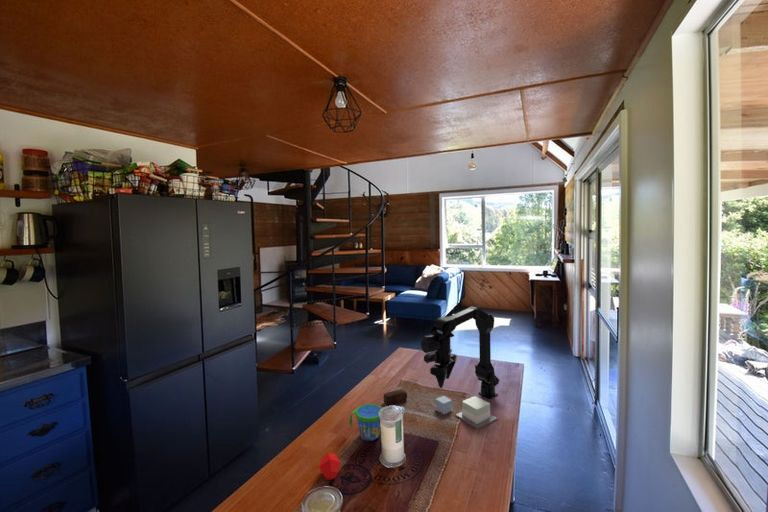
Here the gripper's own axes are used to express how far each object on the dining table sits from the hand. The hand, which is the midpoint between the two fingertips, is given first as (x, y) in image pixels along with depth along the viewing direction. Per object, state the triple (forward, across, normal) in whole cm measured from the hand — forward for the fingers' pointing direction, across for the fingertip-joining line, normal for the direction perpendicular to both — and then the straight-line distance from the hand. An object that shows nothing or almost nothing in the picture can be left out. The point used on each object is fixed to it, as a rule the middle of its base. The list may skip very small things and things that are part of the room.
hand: (444, 383), depth 142 cm
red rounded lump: (+13, +53, -22) cm, 58 cm away
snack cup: (+13, +30, -20) cm, 38 cm away
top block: (+13, -1, -1) cm, 13 cm away
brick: (+13, +2, -23) cm, 26 cm away
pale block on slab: (+13, -1, +13) cm, 18 cm away
